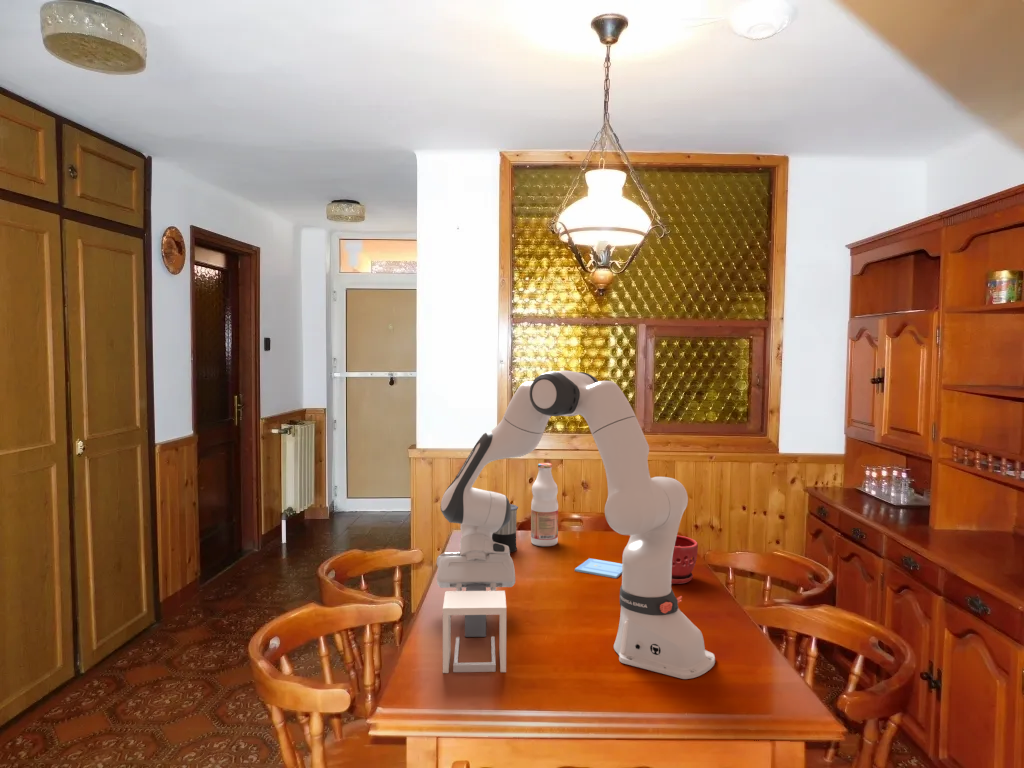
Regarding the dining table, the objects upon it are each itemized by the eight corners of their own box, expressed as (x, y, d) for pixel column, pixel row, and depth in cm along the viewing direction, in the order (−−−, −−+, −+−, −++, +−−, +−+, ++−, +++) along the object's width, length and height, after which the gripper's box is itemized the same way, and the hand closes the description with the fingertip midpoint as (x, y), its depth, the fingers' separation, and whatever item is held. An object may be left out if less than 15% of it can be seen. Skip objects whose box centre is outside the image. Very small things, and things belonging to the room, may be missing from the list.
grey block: (466, 615, 175) (466, 584, 175) (485, 615, 176) (485, 584, 175) (464, 636, 163) (465, 603, 162) (486, 636, 163) (486, 603, 162)
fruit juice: (525, 542, 241) (525, 463, 239) (543, 537, 247) (544, 460, 246) (545, 548, 234) (545, 467, 232) (563, 543, 240) (564, 464, 239)
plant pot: (666, 589, 196) (667, 547, 195) (643, 574, 208) (644, 535, 207) (705, 584, 200) (706, 543, 199) (680, 570, 212) (681, 532, 212)
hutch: (446, 640, 161) (446, 582, 160) (503, 639, 161) (504, 581, 161) (442, 673, 145) (442, 608, 144) (506, 672, 146) (506, 607, 145)
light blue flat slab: (629, 568, 215) (629, 564, 215) (616, 580, 205) (616, 575, 204) (589, 561, 221) (589, 557, 221) (574, 572, 211) (574, 568, 211)
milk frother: (513, 544, 238) (513, 502, 238) (526, 558, 223) (526, 513, 222) (473, 547, 235) (473, 504, 234) (483, 561, 220) (483, 516, 219)
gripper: (436, 546, 179) (434, 597, 170) (514, 546, 180) (516, 596, 171) (437, 558, 184) (435, 608, 175) (513, 557, 185) (515, 607, 175)
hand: (476, 602), depth 173 cm, fingers closed on grey block, 5 cm apart
